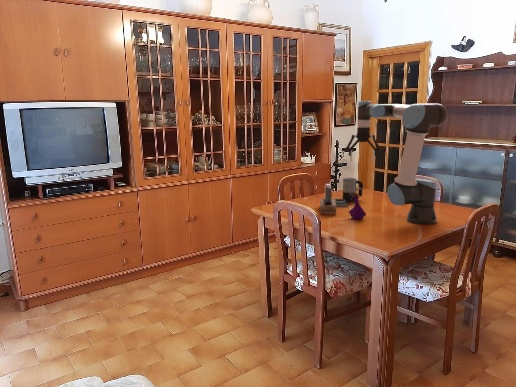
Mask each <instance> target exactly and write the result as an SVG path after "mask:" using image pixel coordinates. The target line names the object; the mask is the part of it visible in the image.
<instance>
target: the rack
mask: <svg viewBox="0 0 516 387" xmlns="http://www.w3.org/2000/svg"><path fill="white" fill-rule="evenodd" d="M335 199H336V198H331V205H325V197H323V198H321V197H320V198H319V207H320V208H319V212H320V215H329V216H330V215H333V216H334V215H337V207H336V203H335Z"/></svg>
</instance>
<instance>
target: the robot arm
mask: <svg viewBox="0 0 516 387" xmlns="http://www.w3.org/2000/svg"><path fill="white" fill-rule="evenodd" d="M357 103H358V104H357V106H358V107H357V128H356V135H355V134H352V135H351V136H350V137H351V138H350V140H349V142H348V144H347V145H346V148H345V150H347V151H348V156H349V160H350V162H353V149H354V147H356V145H357V144H358V143H359V142H360V143H368V144H369V145H370V147H371V148H372V149H373V150H372V159H371V160H372V162H375V157H376V156H377V152H378V151H380V149H381V148H380V146H379V143H378V142H377V140H376V135H375V134H370V132H371V118H373V119H376V118H377V119H378V118H399V119H401V121H402V124H403V126H404V127H405V128H404V130H405V132H406V133H407V134H406V139H405V142H404V148H403V152H402V157H401V162H400V166H399V171H398V175H397V176H396V177H394V181H393V183H391V184H389V185H388V187H387V191H386V192H387V197H388V200H389V201H390V202H391V204H392V205H395V206H404V205H405V206H406V205H411V206H410V209H409V211H408V213H407V215H406V220H407V221H408V222H411V223H413V224H419V225H432V224H436V223H437V214H436V209H435V201H436V200H435V199H436V190H437V189H436V186H437V185H436V182H435V181H434V180H429V179H424V178H416V176H417V173H418V168H419V163H420V160H421V155H422V151H423V146H424V143H425V139H426V136H427V135H428V134H430V130H431V128H436V127H440V126H441V125H443V124H444V123H446V121H447V120H448V118H449V116H448V115H449V113H448V109H447V108H446V107H445V106H444V105H443V104H442V103H441V104H440V103H418V102H417V103H413V104H401V103H389V104H388V103H384V104H383V103H381V104H379V103H375V104H374V103H373V104H372V101H371V100H360V101H358V102H357ZM370 138H371V139H372V141H373V143H374V144H373V143H372V141H371V140H369V139H370ZM354 139H356V140H355V142H353V141H354ZM374 145H375V146H374Z"/></svg>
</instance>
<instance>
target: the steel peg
mask: <svg viewBox="0 0 516 387" xmlns="http://www.w3.org/2000/svg"><path fill="white" fill-rule="evenodd" d="M331 184H332V183H324V189H325V188H326V187H332V185H331Z"/></svg>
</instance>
